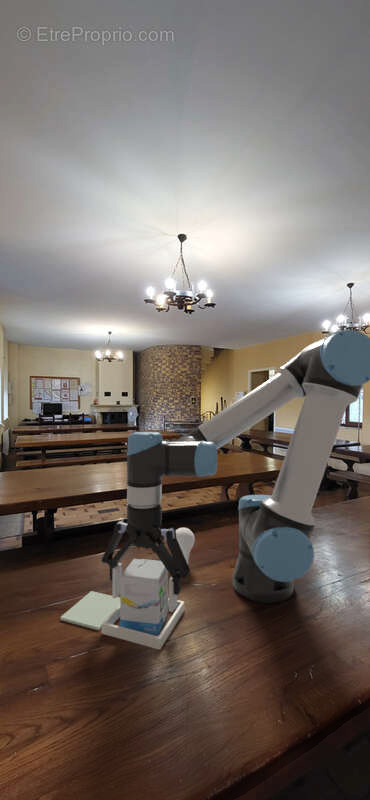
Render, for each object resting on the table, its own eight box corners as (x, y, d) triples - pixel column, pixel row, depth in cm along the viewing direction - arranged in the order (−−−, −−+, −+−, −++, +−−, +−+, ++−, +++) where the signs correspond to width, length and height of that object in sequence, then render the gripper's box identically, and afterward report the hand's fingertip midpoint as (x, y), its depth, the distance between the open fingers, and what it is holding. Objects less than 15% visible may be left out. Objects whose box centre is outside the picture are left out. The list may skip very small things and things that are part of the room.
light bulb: (168, 569, 96) (167, 530, 97) (177, 559, 103) (177, 523, 103) (189, 573, 94) (189, 533, 94) (198, 563, 100) (197, 525, 100)
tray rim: (184, 610, 77) (184, 601, 77) (160, 649, 65) (159, 639, 65) (133, 598, 82) (133, 590, 82) (101, 633, 70) (101, 623, 70)
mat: (126, 601, 81) (126, 599, 81) (98, 630, 71) (98, 627, 71) (91, 593, 85) (91, 591, 85) (60, 619, 74) (60, 617, 74)
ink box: (158, 637, 69) (158, 579, 69) (119, 632, 70) (118, 575, 70) (169, 612, 77) (168, 560, 77) (133, 607, 79) (133, 557, 79)
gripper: (204, 504, 73) (204, 604, 73) (105, 493, 82) (105, 582, 82) (192, 515, 66) (192, 625, 66) (86, 501, 75) (85, 598, 75)
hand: (144, 601), depth 74 cm, fingers open, 13 cm apart
